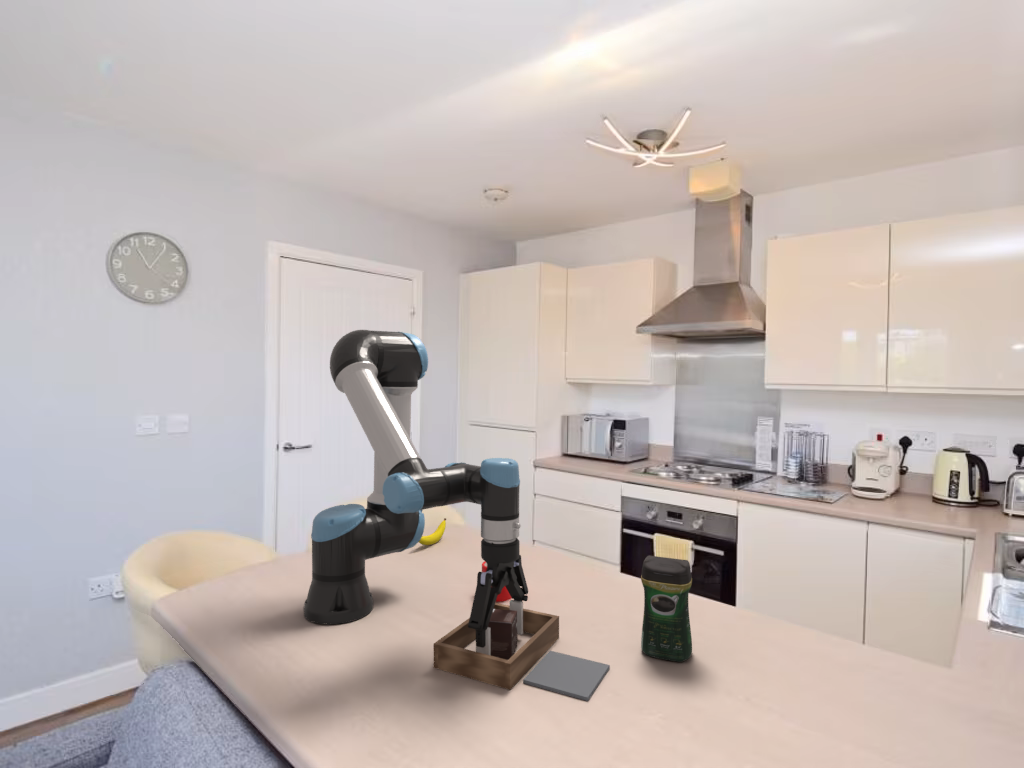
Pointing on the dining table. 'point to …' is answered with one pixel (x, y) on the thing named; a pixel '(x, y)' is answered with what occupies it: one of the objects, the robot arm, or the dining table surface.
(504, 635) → the box
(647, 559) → the coffee jar
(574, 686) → the slate mat
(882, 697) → the dining table surface
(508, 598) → the mug
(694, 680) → the dining table surface
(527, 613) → the walnut crate
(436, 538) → the banana
